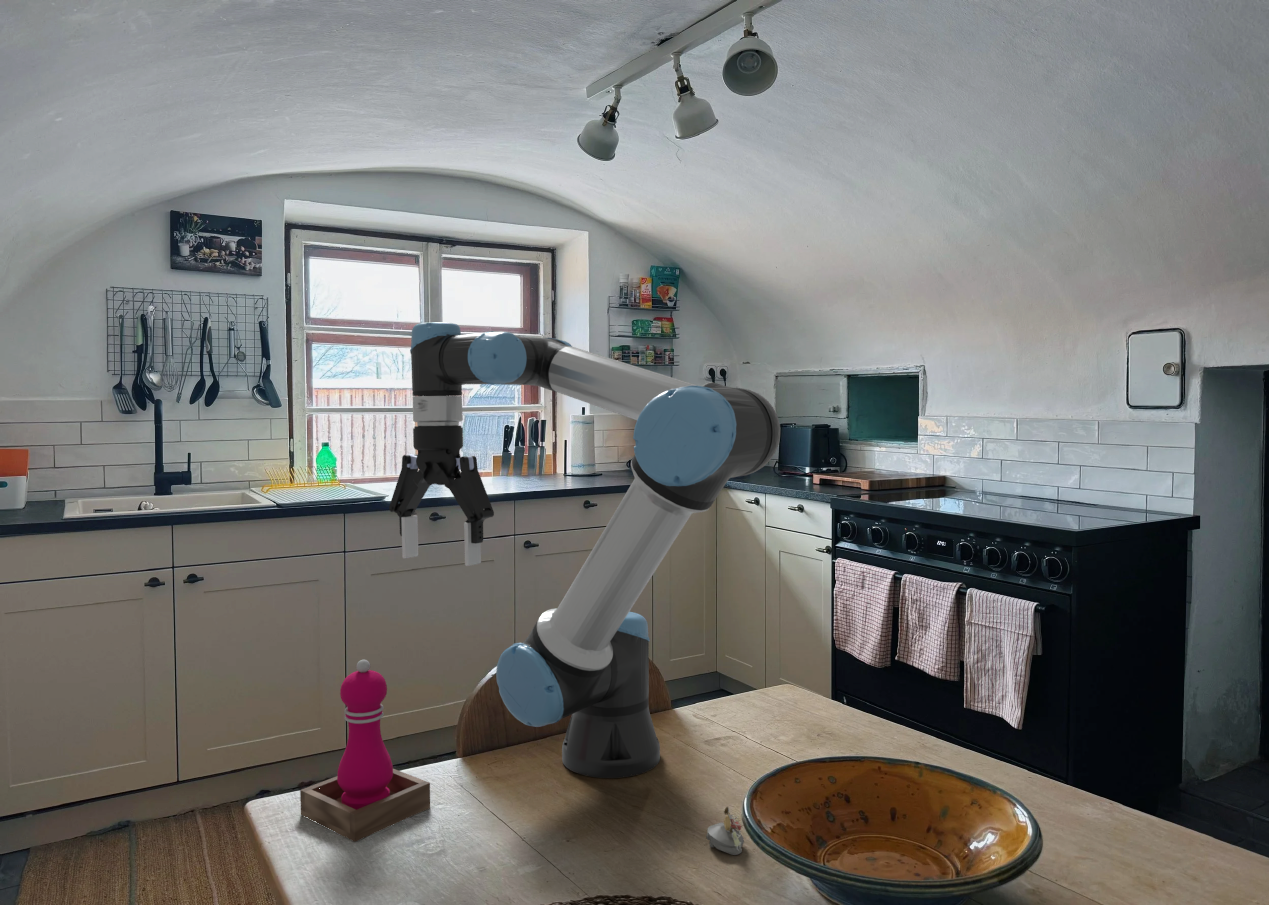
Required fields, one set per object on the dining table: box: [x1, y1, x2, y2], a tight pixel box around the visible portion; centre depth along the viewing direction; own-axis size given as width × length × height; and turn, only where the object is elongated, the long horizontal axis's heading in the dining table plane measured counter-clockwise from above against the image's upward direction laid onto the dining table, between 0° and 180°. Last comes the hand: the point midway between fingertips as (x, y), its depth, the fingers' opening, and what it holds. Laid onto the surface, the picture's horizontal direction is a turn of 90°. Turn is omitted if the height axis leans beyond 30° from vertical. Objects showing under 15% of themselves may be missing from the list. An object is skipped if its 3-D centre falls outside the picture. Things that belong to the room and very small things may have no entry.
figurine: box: [705, 806, 745, 856], centre depth 111 cm, size 5×4×6 cm
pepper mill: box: [336, 658, 394, 810], centre depth 121 cm, size 7×7×20 cm
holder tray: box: [299, 768, 431, 843], centre depth 122 cm, size 12×12×4 cm
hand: (440, 561), depth 140 cm, fingers open, 13 cm apart
